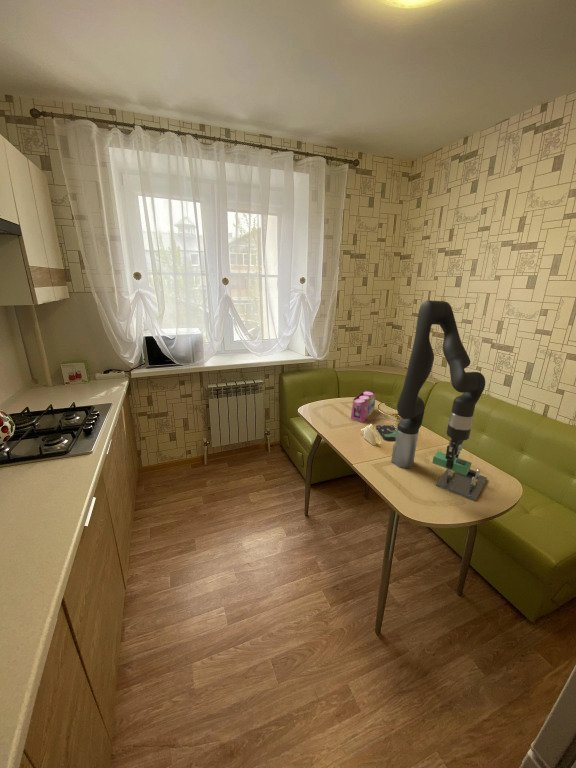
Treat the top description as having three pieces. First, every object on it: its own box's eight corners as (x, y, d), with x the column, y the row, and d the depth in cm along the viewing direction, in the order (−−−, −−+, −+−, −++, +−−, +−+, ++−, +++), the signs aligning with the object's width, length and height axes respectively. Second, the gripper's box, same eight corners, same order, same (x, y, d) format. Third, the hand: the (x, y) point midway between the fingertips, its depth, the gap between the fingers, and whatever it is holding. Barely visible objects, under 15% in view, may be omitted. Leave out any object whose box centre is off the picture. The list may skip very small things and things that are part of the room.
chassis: (435, 485, 134) (438, 472, 132) (450, 466, 148) (452, 454, 146) (475, 501, 124) (478, 487, 122) (486, 479, 138) (489, 466, 136)
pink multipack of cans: (361, 423, 192) (363, 402, 188) (349, 420, 196) (351, 400, 192) (374, 411, 211) (376, 391, 207) (363, 408, 215) (364, 389, 211)
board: (432, 463, 123) (433, 455, 122) (437, 457, 127) (438, 450, 126) (465, 475, 116) (467, 467, 115) (469, 469, 119) (471, 461, 118)
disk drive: (375, 429, 185) (384, 441, 171) (375, 425, 185) (385, 436, 170) (392, 429, 186) (403, 441, 172) (393, 425, 185) (403, 436, 171)
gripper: (454, 416, 123) (447, 454, 128) (442, 427, 113) (434, 468, 118) (476, 421, 118) (467, 461, 124) (465, 434, 108) (456, 476, 114)
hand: (451, 464), depth 121 cm, fingers closed on board, 5 cm apart
